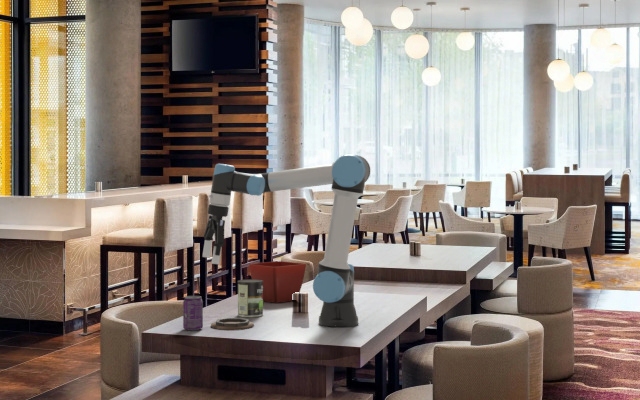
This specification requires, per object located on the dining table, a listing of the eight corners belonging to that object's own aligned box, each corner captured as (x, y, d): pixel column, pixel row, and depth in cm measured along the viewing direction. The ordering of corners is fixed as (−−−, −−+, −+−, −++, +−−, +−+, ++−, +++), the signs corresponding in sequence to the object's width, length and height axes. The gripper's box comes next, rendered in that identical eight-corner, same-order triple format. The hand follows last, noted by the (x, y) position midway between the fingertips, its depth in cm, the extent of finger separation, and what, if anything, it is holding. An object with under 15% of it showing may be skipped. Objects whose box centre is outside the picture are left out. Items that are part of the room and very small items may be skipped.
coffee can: (266, 313, 341) (266, 279, 341) (259, 317, 331) (259, 282, 331) (241, 312, 343) (241, 278, 343) (234, 317, 333) (234, 281, 333)
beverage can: (193, 327, 310) (193, 294, 310) (206, 329, 306) (206, 296, 305) (179, 329, 305) (179, 297, 304) (192, 332, 300) (192, 298, 300)
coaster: (262, 326, 312) (262, 321, 312) (227, 331, 301) (227, 326, 301) (236, 320, 324) (236, 315, 324) (202, 325, 313) (202, 320, 313)
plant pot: (247, 300, 378) (247, 263, 378) (280, 296, 391) (280, 260, 391) (274, 305, 364) (274, 266, 364) (307, 301, 377) (307, 263, 377)
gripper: (201, 199, 323) (193, 253, 324) (218, 207, 300) (209, 265, 301) (219, 202, 326) (211, 255, 327) (237, 210, 303) (229, 267, 304)
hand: (210, 260), depth 314 cm, fingers open, 13 cm apart
